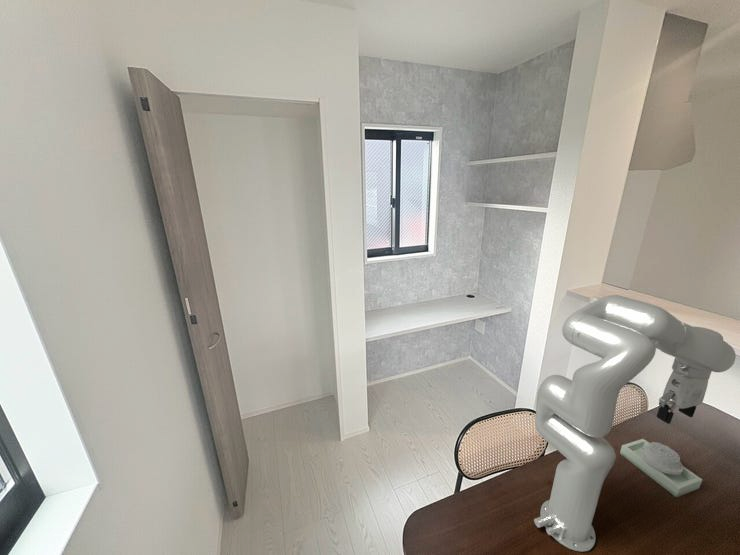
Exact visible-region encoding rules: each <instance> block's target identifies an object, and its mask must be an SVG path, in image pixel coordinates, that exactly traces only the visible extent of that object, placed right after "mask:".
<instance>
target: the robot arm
mask: <svg viewBox="0 0 740 555" xmlns="http://www.w3.org/2000/svg"><path fill="white" fill-rule="evenodd" d="M561 332H562V336H563V337H564V339H565V341H567V342H568V343H569V344H571V345H573V346H575V347H577V348H580V349H581V350H583V351H585V352H588V353H590V354H593V355H594V356H596V357H598V358H601V359H600V360H598V361H594V362H592V363H588V364H584V365H582V366H581V367H579V368H577V369H576V370H575V371H574V372H573V375H572V378H571V379H570V378H567V377H566V376H564V375H562V374H561V375H560V374H553V375H549V376H547V377H546V378H545V379H543V381H542V383H541V384H540V386H539V387H538V391H537V395H536V407H535V408H536V409H535V421H534V422H535V429H536V431H537V432H536V433H538V434H539V436H540V437H542V438H543V439H544V440H545V441H546V442H547V443H548V444H549V445H551V447H553V448H554V449H556V451H557V452H559V453H560V454H561V455H563V456H564V457H565V458H566V459H563V460H561V461H560V462H559V463H558V464H557V466H556V469H555V474H554V479H553V483H552V488H551V492H550V498H549V499H548V500H546V501H545V502H543V503H542V505H541V507H540V516H539V517H536V518H534V519H533V522H534V524H535V526H536V527H537V528H542V527H544V528H545V531H546V533H547V535H548V536H552V538H553V539H554V540H555V541H557V542H558V543H559V544H560V545H562V546H564V547H566V548H567V549H570V550H572V551H575V552H581V553H582V552H589V551H590V550H591V549H592V548H593V547H594V545H595V543H596V532H595V529H594V526H593V525H592V523H593V519H594V516H595V513H596V509H597V506H598V502H599V498H600V495H601V491H602V489H603V488H602V487H603V485H604V483H605V479H606V477H607V476H608V474H609V473H610V471H611V470H612V468H613V466H614V464H615V462H616V456H617V455H616V452H615V449H614V447H613V446H612V444H611V443H609V441H607V440H606V439H605V438H604V437H606V436H608V435H609V434H610V431H611V430H612V427H613V424H614V418H615V414H616V408H617V402H618V397H619V393H620V391H621V390H622V388H623V387H625V385H627V384H628V383H630V381H632V380H633V379H634V378H635V377H636V376H637V375H639V374H640V373H641V372H642V371H643V370H644V369H646V367H647V366H648V365H649V364H650V363H651V362H652V360H653V359H654V357H655V356H656V353H657V352H656V351H657V349H658V350H659V351H660V352H662V353H664V354H666V355H668V356H671V357H673V358H674V359H673V363H672V365H671V370H672V371H671V373H670V375H669V378H668V380H667V382H666V384H665V387H664V390H663V392H662V396H661V397H659V399H658V401H659V402H658V407H659V408H658V411H657V414H656V417H657V419H658V420H661V421H662V422H663V423H666V424H668V425H669V424H670V425H671V422H672V420H673V417H674V414H675V413H674V411H675V409H676V408H677V407H678V411H679V412H680V413H682V414H684V415H686V416H687V417H689V418H692V417H693V416H694V414H695V411H696V409H697V406H698V405H700V404H701V405H702V403H703V402H704V399H705V396H706V393H707V389H708V384H709V380H710V377H711V374H712V372H713V373H724V372H727V371H728V370H729V369H731V368H732V367H733V365H734V364H735V362H736V359H737V358H736V356H737V355H736V351H735V348H733V347H732V345H731V344H730V343H728V342H726V341H725V340H724V336H723V334H721V333H720V332H718V331H717V330H716V331H715V330H713V329H712V328H711V329H710V328H706V327H702V326H693V325H691V324H688V323H685V322H682V321H681V320H679V319H678V318H677V317H675V316H674V315H673V314H671V313H670V312H669V311H667V310H666V309H664V308H663V307H660V306H658V305H655V304H652V303H648V302H644V301H640V300H637V299H635V298H629V297H626V296H623V295H619V294H610V295H606V296H603V297H601V298H599V299H597V300H594V301H593V302H590V303H588V304H587V305H586V306H584V307H582V308H580V309H578V310H576V311H575V312H572V313H571V314H570V315H569V316H568V317H567V318H566V319H565V321H564V323H563V325H562V331H561ZM668 403H669V404H670V405H671V406H669V404H668Z"/></svg>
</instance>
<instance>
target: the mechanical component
mask: <svg viewBox="0 0 740 555" xmlns="http://www.w3.org/2000/svg"><path fill="white" fill-rule="evenodd" d="M640 455H641V457H642V458H643V459H644V460H645V461H646V462H647V463H648V464H649V465H651V466H652V467H654V468H655V469H657V470H659V471H661V472H664V473H667V474H671V475H679V474H681V473H682V471H683V466H684V465H683V464H682V462H681V457H680V455H679V453H678V452H676V450H674V449H672V448H670V447H669V446H668V445H664V444H662V443H660V442H657V441H655V442H654V441H652V442H649V443H648V445H647V446H643V447H642V448H641V450H640Z"/></svg>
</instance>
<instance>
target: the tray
mask: <svg viewBox="0 0 740 555" xmlns="http://www.w3.org/2000/svg"><path fill="white" fill-rule="evenodd" d="M648 443H650V442H649V441H648V440H645V439H644V438H641V439H637V440H635V441H631V442H628V443H625V444H621V448H620V451H619V454H620V455H621V456H623V457H624V458H626V460H628V461H629V462H630V463H632V464H633V465H634V466H635V467H637V468H638V469H640V470H641V471H642V472H643V473H645V475H646V476H649V477H650V478H651V479H652V480H653V481H655V483H657V484H659V485H660V486H661V487H662V488H663V489H665V490H666V491H667V492H669V493H670V494H672V495H673V496H674V497H675V498H679V497H681V496H684V495H685V494H688V493H690V492H693V491H696V490H698V489H700V486H701V485H702V483H703V478H701V477H699V476H698V475H696V473H694V472H692V471H691V470H690V469H688V468H686V467H685V466H684V465H683V471H682V473H681V474H679V475H671V474H667V473H664V472H661V471H659V470H657V469H655V468H654V467H652V466H651V465H649V464H648V463H647V462H646V461H645V460H644V459H643V458H642V457H641V455H640V450H641V448H642V447H643V446H647V445H648Z"/></svg>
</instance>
